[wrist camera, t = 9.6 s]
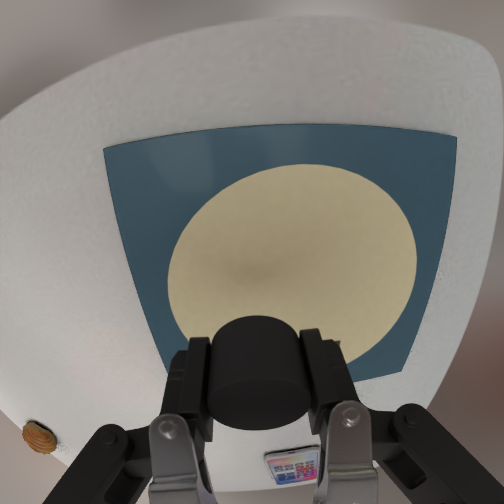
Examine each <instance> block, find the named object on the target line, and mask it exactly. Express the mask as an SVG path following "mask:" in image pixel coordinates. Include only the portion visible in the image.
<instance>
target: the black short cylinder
mask: <svg viewBox="0 0 504 504" xmlns="http://www.w3.org/2000/svg"><path fill="white" fill-rule="evenodd" d="M311 399H312V394H311V390H310V385H309V381H308V376H307V372H306V368H305V363H304V359H303V354H302V350H301V346H300V342H299V337H298V335H297V333H296V332H295V330H294V329H293V328H292V327H291V326H290V325H289V324H287V323H286V322H284V321H282V320H280V319H277V318H274V317H270V316H263V315H252V316H245V317H240V318H237V319H234V320H232V321H230V322H228V323H227V324H225V325H224V326H222V327H221V328H220V329H219V330H218V331H217V332H216V334H215V335H214V337H213V339H212V343H211V351H210V362H209V373H208V384H207V396H206V406H207V409H208V411H209V414H210V415H211V417H213V418H214V419H215V420H216V421H218V422H220V423H221V424H224V425H226V426H229V427H232V428H236V429H242V430H268V429H274V428H278V427H282V426H285V425H287V424H290V423H292V422H294V421H296V420H298V419H299V418H301V417H302V416H303V415H304V414H305V413H306V412H307V411H308V410H309V408H310V405H311Z"/></svg>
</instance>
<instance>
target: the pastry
mask: <svg viewBox="0 0 504 504" xmlns="http://www.w3.org/2000/svg"><path fill="white" fill-rule="evenodd" d="M22 435H23V438H24V440H25V441H26V442H27V444H28V445H29V446H30V447H31V448H32V449H33V450H34V451H36V452H39V453H43V454H50V452H53V451H55V449H56V448H57V447H56V444H57V443H56V440H55V438H54V435H53V434H51V433H50V431H48V430H45V429H43V428H41V427H40V426H38V425H37V424H35V423H34V422H28V423H27V424H26V425H25V426H24V427H23V433H22Z"/></svg>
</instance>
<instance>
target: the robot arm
mask: <svg viewBox="0 0 504 504" xmlns="http://www.w3.org/2000/svg"><path fill="white" fill-rule="evenodd" d="M299 342H300V346H301V350H302V354H303V359H304V363H305V368H306V372H307V376H308V381H309V385H310V390H311V394H312V399H311V405H310V408H309V410H308V416H309V422H310V427H311V432H312V435H315V434H319V435H320V440H321V445H320V451H319V462H318V472H317V482H316V489H315V494H314V498H313V504H378V473H377V470H376V469H375V468H374V467H373V462H372V460H375V461H376V462H377V463H378V464H379V465H380V466H381V468H382V469H383V470H384V471H385V472H386V474H387V475H388V476H389V477H390V478H391V479H392V481H393V482H394V483H395V484H396V485H397V486H398V488H399V489H400V490H401V491H402V492H403V493H404V495H405V496H406V497H407V498H408V499H409V500H410V501H411V502H412V504H504V487H503V486H502V485H501V484H500V483H499V482H498V481H497V480H496V479H495V478H494V477H493V476H492V475H491V474H490V473H489V472H488V471H487V470H486V469H485V468H484V467H483V466H482V465H481V464H480V463H479V462H478V461H477V460H476V459H475V458H474V457H473V456H472V455H471V454H470V453H469V452H468V451H467V450H466V449H465V448H464V447H463V446H462V445H461V444H460V443H459V442H458V441H457V440H456V439H455V438H454V437H453V436H452V435H451V434H450V433H449V432H448V431H447V430H446V429H445V428H444V427H443V426H442V425H441V424H440V423H439V422H438V421H437V420H436V419H435V418H434V417H433V416H432V415H431V414H430V413H429V412H428V411H427V410H426V409H425V408H423V407H422V406H420V405H418V404H413V403H410V404H405V405H402V406H401V407H399V408H398V409H397V411H396V412H392V411H375V410H372V409H369V408H367V407H366V406H365V405H363V404H362V403H361V401H360V400H359V398H358V396H357V393H356V390H355V387H354V384H353V381H352V378H351V375H350V373H349V370H348V368H347V364H346V361H345V359H344V356H343V353H342V350H341V348H340V346H339V345H338V344H337V343H336V342H335V341H334V340H333V339H327V340H322V337H321V334H320V331H319V329H318V328H312V329H303V330H300V331H299ZM210 351H211V342H210V338H209V337H190V339H189V344H188V350H178V351H177V353H176V354H175V355H174V357H173V358H172V359H171V364H170V368H169V373H168V377H167V382H166V387H165V392H164V397H163V402H162V407H161V412H160V414H159V416H158V417H156V418H155V419H154V420H153V421H152V422H151V424H150V425H149V426H146V427H143V428H138V429H133V430H127V431H125V430H124V429H123V428H122V427H120V426H118V425H115V424H107V425H104V426H102V427H100V428H99V429H98V430H97V431H96V432H95V433H94V435H93V436H92V437H91V439H90V440H89V441H88V443H87V444H86V445H85V447H84V448H83V449H82V451H81V452H80V453H79V455H78V456H77V457H76V459H75V460H74V461H73V463H72V464H71V465H70V467H69V468H68V469H67V471H66V472H65V473H64V475H63V476H62V478H61V479H60V480H59V482H58V483H57V484H56V486H55V487H54V488H53V490H52V491H51V493H50V494H49V495H48V497H47V498H46V499H45V501H44V502H43V503H42V504H135V503H136V502H137V500H138V499H139V497H140V495H141V494H142V492H143V490H144V489H145V487H146V486H147V484H148V483H149V481H150V479H151V478H152V476H153V481H152V483H150V485H149V489H148V493H149V502H150V504H218V502H217V500H216V498H215V495H214V492H213V488H212V484H211V480H210V476H209V471H208V467H207V463H206V458H205V455H204V447H205V442H212V438H213V417H211V415H210V414H209V411H208V409H207V406H206V396H207V384H208V373H209V362H210Z"/></svg>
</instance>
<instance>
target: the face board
mask: <svg viewBox="0 0 504 504" xmlns="http://www.w3.org/2000/svg"><path fill="white" fill-rule="evenodd" d="M456 149H457V137H455V136H451V135H445V134H439V133H432V132H425V131H418V130H410V129H401V128H391V127H380V126H366V125H347V124H274V125H255V126H241V127H229V128H219V129H209V130H201V131H193V132H186V133H179V134H172V135H166V136H160V137H154V138H149V139H143V140H138V141H133V142H128V143H123V144H119V145H114V146H110V147H106V148H104V149H103V152H104V158H105V164H106V170H107V175H108V181H109V186H110V191H111V196H112V201H113V205H114V210H115V214H116V218H117V223H118V227H119V231H120V235H121V239H122V242H123V246H124V250H125V253H126V257H127V261H128V264H129V267H130V271H131V274H132V277H133V281H134V284H135V287H136V290H137V293H138V296H139V299H140V302H141V305H142V308H143V311H144V314H145V317H146V320H147V322H148V325H149V328H150V331H151V333H152V336H153V338H154V341H155V344H156V346H157V349H158V351H159V354H160V356H161V359H162V361H163V363H164V366H165V368H166V371H167V373H169V368H170V364H171V359H172V358H173V357H174V355H175V354H176V353H177V351H178V350H188V344H189V339H190V337H209V338H210V342H211V343H212V339H213V337H214V335H215V334H216V332H217V331H218V330H219V329H220V328H221V327H222V326H224V325H225V324H227V323H228V322H230V321H232V320H234V319H237V318H240V317H245V316H252V315H263V316H270V317H274V318H277V319H280V320H282V321H284V322H286V323H287V324H289V325H290V326H291V327H292V328H293V329H294V330H295V332H296V333H297V335H298V337H299V331H300V330H303V329H312V328H318V329H319V331H320V334H321V337H322V340H327V339H333V340H334V341H335V342H336V343H337V344H338V345H339V346H340V348H341V350H342V353H343V356H344V359H345V361H346V364H347V368H348V370H349V373H350V375H351V378H352V381H353V382H357V381H362V380H367V379H372V378H376V377H380V376H385V375H389V374H393V373H397V372H400V371H402V369H403V366H404V364H405V362H406V360H407V357H408V355H409V352H410V350H411V347H412V345H413V342H414V340H415V337H416V335H417V332H418V329H419V326H420V324H421V321H422V318H423V315H424V312H425V309H426V306H427V303H428V300H429V297H430V293H431V290H432V287H433V283H434V280H435V276H436V272H437V268H438V265H439V261H440V256H441V252H442V248H443V243H444V239H445V234H446V229H447V223H448V218H449V212H450V206H451V199H452V192H453V183H454V174H455V163H456Z"/></svg>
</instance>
